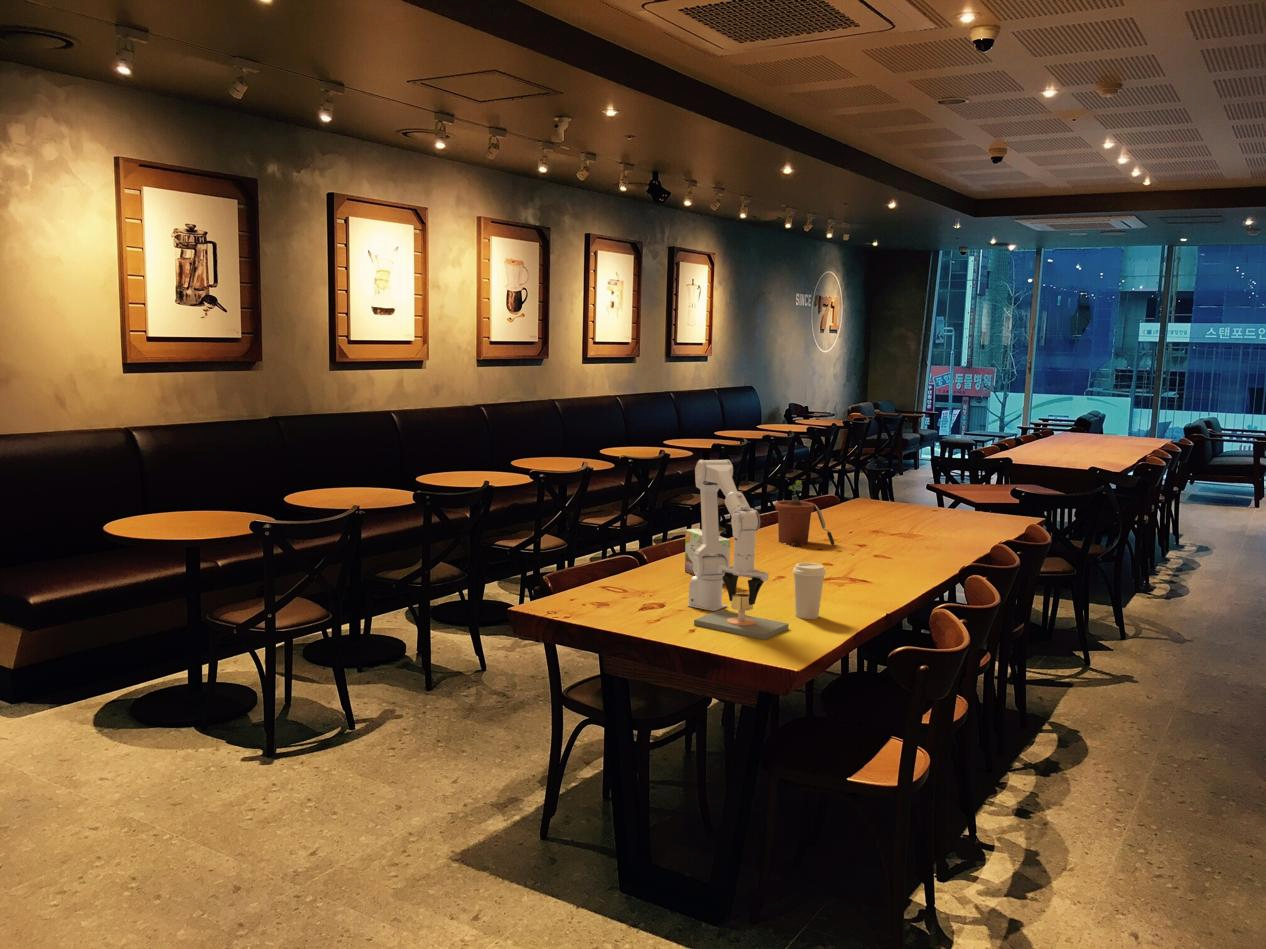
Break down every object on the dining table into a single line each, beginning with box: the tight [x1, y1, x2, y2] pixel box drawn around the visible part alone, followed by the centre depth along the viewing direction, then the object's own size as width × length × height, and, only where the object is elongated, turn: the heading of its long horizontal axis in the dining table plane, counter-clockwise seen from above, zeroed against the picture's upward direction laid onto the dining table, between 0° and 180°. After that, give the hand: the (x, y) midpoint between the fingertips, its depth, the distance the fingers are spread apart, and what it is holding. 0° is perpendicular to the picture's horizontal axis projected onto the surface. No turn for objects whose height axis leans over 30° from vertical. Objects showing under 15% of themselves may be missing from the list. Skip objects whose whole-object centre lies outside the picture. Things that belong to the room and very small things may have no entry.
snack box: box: [684, 528, 731, 585], centre depth 338 cm, size 21×6×15 cm, turn 27°
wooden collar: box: [731, 592, 754, 612], centre depth 279 cm, size 6×6×4 cm
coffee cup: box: [791, 562, 827, 620], centre depth 292 cm, size 10×10×15 cm
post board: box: [693, 609, 789, 641], centre depth 279 cm, size 22×14×6 cm, turn 55°
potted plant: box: [774, 480, 835, 547], centre depth 404 cm, size 18×22×25 cm
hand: (742, 602), depth 278 cm, fingers closed on wooden collar, 5 cm apart
